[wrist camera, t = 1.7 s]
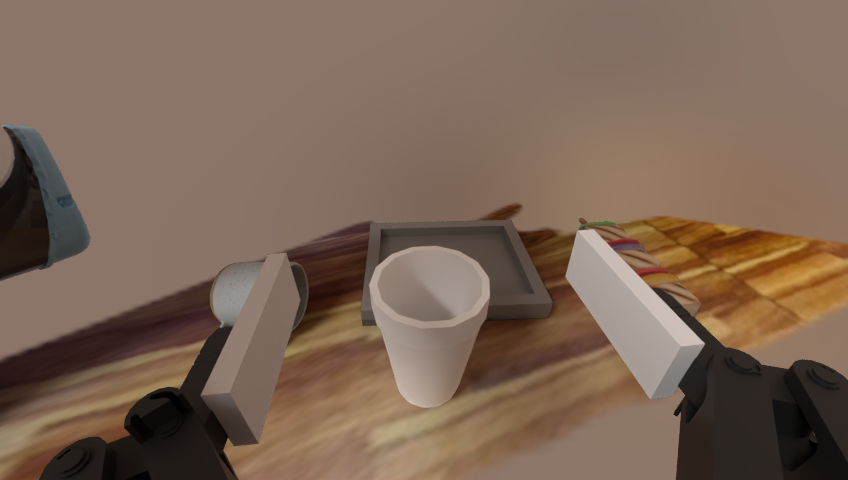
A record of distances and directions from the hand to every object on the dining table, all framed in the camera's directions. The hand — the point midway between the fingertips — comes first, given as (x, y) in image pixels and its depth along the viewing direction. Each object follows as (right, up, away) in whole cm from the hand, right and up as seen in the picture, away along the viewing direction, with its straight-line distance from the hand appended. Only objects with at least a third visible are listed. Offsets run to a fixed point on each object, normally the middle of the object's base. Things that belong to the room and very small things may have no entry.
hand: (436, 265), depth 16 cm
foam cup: (0, -13, +19) cm, 23 cm away
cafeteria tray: (+3, -3, +32) cm, 32 cm away
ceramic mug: (-19, -9, +24) cm, 32 cm away
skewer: (+27, -4, +33) cm, 42 cm away
